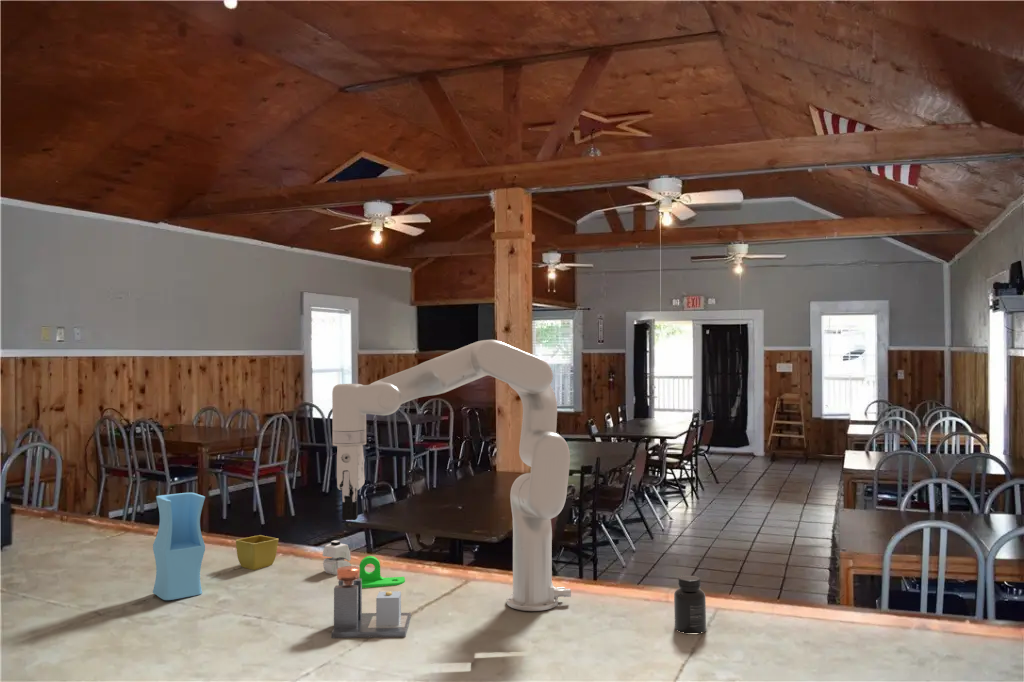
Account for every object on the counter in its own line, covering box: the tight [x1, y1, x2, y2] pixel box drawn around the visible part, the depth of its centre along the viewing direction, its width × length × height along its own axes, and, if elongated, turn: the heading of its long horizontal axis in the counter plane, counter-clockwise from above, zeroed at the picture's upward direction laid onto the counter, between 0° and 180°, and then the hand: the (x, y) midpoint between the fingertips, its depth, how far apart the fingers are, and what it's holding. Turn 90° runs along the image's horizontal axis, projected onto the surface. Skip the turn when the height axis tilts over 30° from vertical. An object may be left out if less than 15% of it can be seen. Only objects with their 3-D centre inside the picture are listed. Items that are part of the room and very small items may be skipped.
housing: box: [375, 590, 402, 625], centre depth 178 cm, size 5×5×6 cm
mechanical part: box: [358, 555, 406, 589], centre depth 210 cm, size 12×6×8 cm, turn 101°
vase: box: [152, 492, 206, 601], centre depth 205 cm, size 10×10×25 cm
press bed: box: [331, 578, 412, 639], centre depth 178 cm, size 16×13×10 cm
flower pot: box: [235, 534, 279, 571], centre depth 227 cm, size 9×9×9 cm
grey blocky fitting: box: [322, 540, 352, 576], centre depth 220 cm, size 6×7×10 cm
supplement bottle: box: [673, 575, 707, 633], centre depth 175 cm, size 7×7×12 cm
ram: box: [336, 565, 360, 585], centre depth 178 cm, size 5×5×12 cm
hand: (350, 519), depth 178 cm, fingers closed
